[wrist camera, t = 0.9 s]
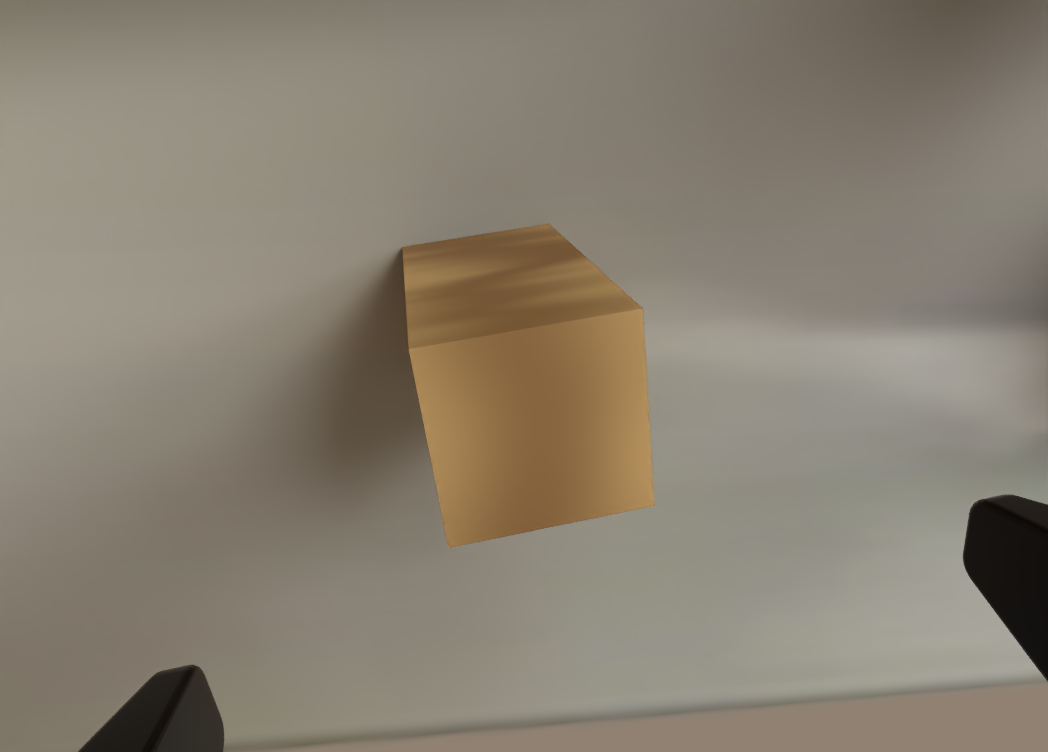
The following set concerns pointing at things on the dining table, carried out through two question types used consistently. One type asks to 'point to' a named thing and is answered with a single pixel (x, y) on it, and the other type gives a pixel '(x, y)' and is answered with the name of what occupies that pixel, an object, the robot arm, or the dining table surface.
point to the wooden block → (526, 383)
